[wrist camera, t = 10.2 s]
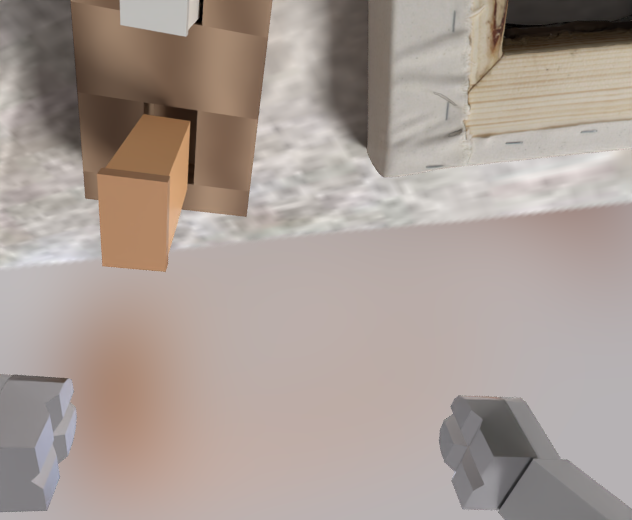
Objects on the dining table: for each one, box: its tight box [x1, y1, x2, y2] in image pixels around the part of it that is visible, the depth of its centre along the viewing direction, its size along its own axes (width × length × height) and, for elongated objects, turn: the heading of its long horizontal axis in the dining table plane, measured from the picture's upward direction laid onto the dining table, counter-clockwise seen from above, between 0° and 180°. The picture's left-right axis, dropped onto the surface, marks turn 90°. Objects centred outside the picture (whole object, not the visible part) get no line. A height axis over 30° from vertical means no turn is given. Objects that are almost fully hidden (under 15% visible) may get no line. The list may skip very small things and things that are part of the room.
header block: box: [70, 0, 272, 217], centre depth 34 cm, size 12×21×6 cm, turn 170°
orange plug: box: [97, 114, 190, 272], centre depth 28 cm, size 3×5×10 cm, turn 169°
